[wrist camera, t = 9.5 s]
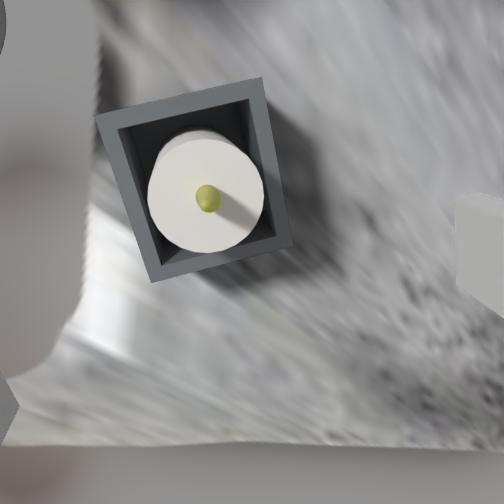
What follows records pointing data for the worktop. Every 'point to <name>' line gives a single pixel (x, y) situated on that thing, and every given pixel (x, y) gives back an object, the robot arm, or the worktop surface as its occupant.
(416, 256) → the worktop surface
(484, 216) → the robot arm
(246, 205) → the candle
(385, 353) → the worktop surface
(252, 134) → the slate holder
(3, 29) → the teacup
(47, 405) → the worktop surface
